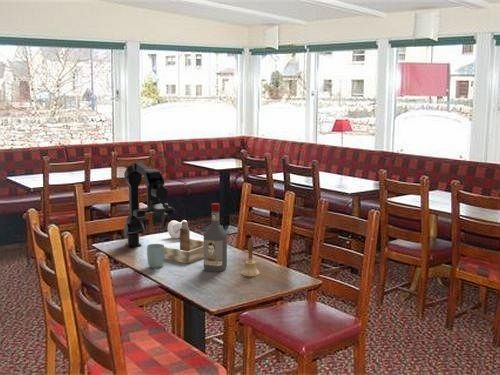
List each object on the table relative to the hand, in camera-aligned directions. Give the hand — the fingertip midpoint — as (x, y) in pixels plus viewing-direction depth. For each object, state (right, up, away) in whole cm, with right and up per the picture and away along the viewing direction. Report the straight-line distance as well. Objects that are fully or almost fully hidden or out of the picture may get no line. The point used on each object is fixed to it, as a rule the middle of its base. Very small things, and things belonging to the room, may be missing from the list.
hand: (154, 229), depth 290 cm
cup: (+2, -17, -10) cm, 19 cm away
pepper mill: (+13, -13, +8) cm, 20 cm away
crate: (+15, -14, +7) cm, 21 cm away
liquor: (+29, -17, -11) cm, 35 cm away
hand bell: (+45, -18, -16) cm, 51 cm away
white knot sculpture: (+7, -7, +45) cm, 46 cm away
